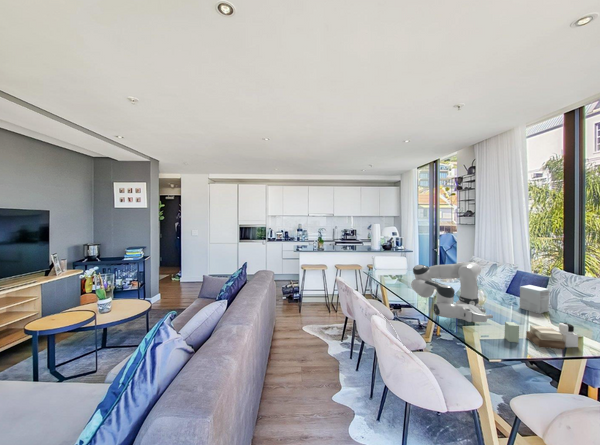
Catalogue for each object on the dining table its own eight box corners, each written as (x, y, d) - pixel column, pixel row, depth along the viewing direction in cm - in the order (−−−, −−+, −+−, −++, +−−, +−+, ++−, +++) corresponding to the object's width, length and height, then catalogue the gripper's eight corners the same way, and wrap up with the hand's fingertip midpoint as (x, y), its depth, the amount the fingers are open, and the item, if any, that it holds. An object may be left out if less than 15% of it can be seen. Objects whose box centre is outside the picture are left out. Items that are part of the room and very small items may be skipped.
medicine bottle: (565, 341, 158) (566, 321, 157) (578, 347, 151) (579, 326, 150) (553, 341, 157) (554, 321, 157) (566, 347, 150) (566, 326, 150)
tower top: (530, 331, 161) (530, 325, 161) (549, 333, 159) (549, 326, 159) (541, 339, 151) (541, 332, 151) (561, 341, 149) (562, 334, 149)
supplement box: (549, 311, 204) (550, 289, 203) (539, 313, 199) (539, 290, 199) (529, 305, 217) (529, 284, 216) (518, 307, 212) (519, 286, 211)
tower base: (526, 338, 162) (526, 330, 162) (549, 340, 160) (549, 332, 160) (539, 347, 151) (539, 340, 151) (564, 350, 148) (564, 342, 148)
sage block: (504, 337, 162) (504, 321, 162) (513, 338, 161) (514, 322, 160) (508, 341, 157) (509, 325, 157) (518, 342, 156) (519, 325, 156)
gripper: (457, 310, 174) (481, 312, 171) (469, 323, 154) (496, 325, 151) (457, 301, 174) (481, 302, 170) (469, 312, 154) (497, 314, 151)
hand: (488, 313), depth 160 cm, fingers open, 8 cm apart
